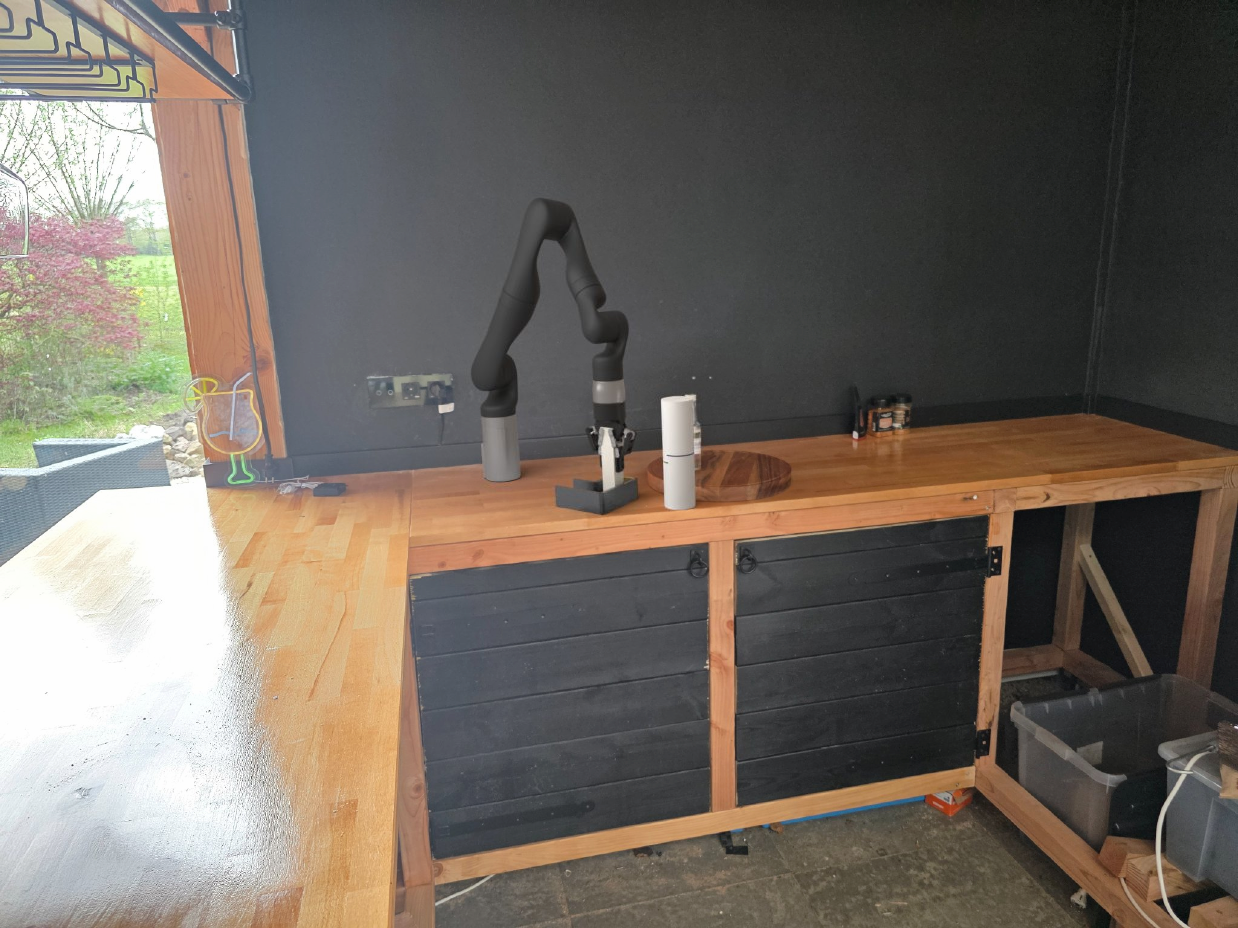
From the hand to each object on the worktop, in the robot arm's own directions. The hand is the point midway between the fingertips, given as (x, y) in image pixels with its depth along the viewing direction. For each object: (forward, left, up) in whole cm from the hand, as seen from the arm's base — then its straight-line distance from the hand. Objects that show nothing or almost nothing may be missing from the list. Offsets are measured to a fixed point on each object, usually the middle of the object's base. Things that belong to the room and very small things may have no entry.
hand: (612, 470), depth 199 cm
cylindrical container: (+16, +5, -8) cm, 18 cm away
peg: (0, 0, -5) cm, 5 cm away
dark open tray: (-3, -3, -8) cm, 9 cm away
